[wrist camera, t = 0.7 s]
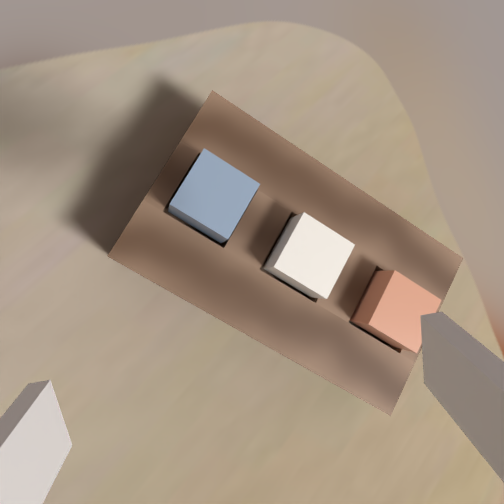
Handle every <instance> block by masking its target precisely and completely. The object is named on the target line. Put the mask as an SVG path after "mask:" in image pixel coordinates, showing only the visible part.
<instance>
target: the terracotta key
mask: <svg viewBox="0 0 504 504" xmlns="http://www.w3.org/2000/svg"><path fill="white" fill-rule="evenodd" d="M440 302H441V299H439V298H438V297H436V296H435V295H433V294H431V293H430V292H428V291H427V290H425V289H424V288H422V287H421V286H419V285H417V284H416V283H414V282H413V281H411V280H410V279H408V278H406V277H405V276H403V275H402V274H400V273H399V272H397V271H395V270H387V271H374V272H373V274H372V276H371V278H370V280H369V282H368V284H367V286H366V288H365V290H364V292H363V294H362V296H361V298H360V300H359V302H358V304H357V306H356V308H355V310H354V312H353V314H352V316H351V318H350V321H351V322H353V323H355V324H356V325H358V326H360V327H361V328H363V329H365V330H366V331H368V332H370V333H371V334H373V335H375V336H376V337H378V338H380V339H381V340H383V341H385V342H386V343H388V344H390V345H391V346H393V347H396V348H400V349H403V350H407V351H410V352H414V353H417V352H418V350H419V348H420V346H421V344H422V336H421V318H420V315H425V314H431V313H436V311H437V309H438V307H439V305H440Z"/></svg>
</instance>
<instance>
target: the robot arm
mask: <svg viewBox="0 0 504 504" xmlns="http://www.w3.org/2000/svg"><path fill="white" fill-rule="evenodd" d="M420 318H421V336H422V354H423V371H424V384H425V385H426V386H427V387H428V389H429V390H430V391H431V392H432V394H433V395H434V396H435V397H436V399H437V400H438V401H439V402H440V404H441V405H442V406H443V407H444V409H445V410H446V411H447V412H448V414H449V415H450V416H451V417H452V419H453V420H454V421H455V422H456V424H457V425H458V426H459V427H460V429H461V430H462V431H463V432H464V434H465V435H466V436H467V437H468V439H469V440H470V441H471V442H472V444H473V445H474V446H475V447H476V449H477V450H478V451H479V452H480V454H481V455H482V456H483V457H484V459H485V460H486V461H487V462H488V464H489V465H490V466H491V467H492V469H493V470H494V471H495V472H496V474H497V475H498V476H499V477H500V478H501V480H502V481H503V482H504V362H503V361H502V360H501V359H500V358H498V357H497V356H496V355H495V354H493V353H492V352H491V351H490V350H488V349H487V348H486V347H485V346H484V345H482V344H481V343H480V342H479V341H477V340H476V339H475V338H474V337H472V336H471V335H470V334H469V333H467V332H466V331H465V330H464V329H463V328H461V327H460V326H459V325H458V324H456V323H455V322H454V321H453V320H451V319H450V318H449V317H448V316H447V315H445V314H444V313H443V312H437V313H431V314H425V315H420ZM71 447H72V443H71V440H70V437H69V434H68V431H67V428H66V425H65V422H64V419H63V416H62V413H61V410H60V407H59V404H58V401H57V398H56V395H55V392H54V390H53V387H52V384H51V381H50V380H47V381H41V382H35V383H30V384H28V385H27V386H26V387H25V389H24V390H23V391H22V392H21V393H20V395H19V396H18V397H17V398H16V400H15V401H14V402H13V403H12V405H11V406H10V407H9V408H8V409H7V411H6V412H5V413H4V414H3V416H2V417H1V418H0V504H43V502H44V500H45V498H46V496H47V494H48V492H49V490H50V488H51V486H52V484H53V482H54V480H55V478H56V476H57V474H58V472H59V470H60V468H61V466H62V464H63V462H64V460H65V458H66V457H67V455H68V453H69V451H70V449H71Z"/></svg>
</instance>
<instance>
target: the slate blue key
mask: <svg viewBox="0 0 504 504" xmlns="http://www.w3.org/2000/svg"><path fill="white" fill-rule="evenodd" d="M259 185H260V184H259V183H258V182H256V181H255V180H253V179H252V178H250V177H248V176H247V175H245V174H244V173H242V172H241V171H239V170H238V169H236V168H234V167H233V166H231V165H230V164H228V163H227V162H225V161H223V160H222V159H220V158H219V157H217V156H216V155H214V154H213V153H211V152H209V151H208V150H206V149H205V148H204V149H203V151H202V153H201V154H200V156H199V157H198V159H197V161H196V162H195V164H194V165H193V167H192V169H191V170H190V172H189V174H188V175H187V177H186V178H185V180H184V182H183V183H182V185H181V186H180V188H179V190H178V191H177V193H176V195H175V196H174V198H173V199H172V201H171V203H170V204H169V209H168V212H170V213H171V214H173V215H175V216H176V217H178V218H180V219H181V220H183V221H185V222H186V223H188V224H190V225H191V226H193V227H195V228H196V229H198V230H200V231H201V232H203V233H205V234H206V235H208V236H210V237H211V238H213V239H215V240H216V241H218V242H220V243H223V242H224V241H226V240H228V239H229V237H230V235H231V234H232V232H233V230H234V229H235V227H236V225H237V223H238V222H239V220H240V218H241V216H242V215H243V213H244V211H245V210H246V208H247V206H248V204H249V203H250V201H251V199H252V198H253V196H254V194H255V192H256V191H257V189H258V187H259Z"/></svg>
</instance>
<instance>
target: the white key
mask: <svg viewBox="0 0 504 504" xmlns="http://www.w3.org/2000/svg"><path fill="white" fill-rule="evenodd" d="M354 246H355V244H353V243H352V242H350V241H349V240H347V239H345V238H344V237H342V236H341V235H339V234H338V233H336V232H334V231H333V230H331V229H330V228H328V227H327V226H325V225H324V224H322V223H320V222H319V221H317V220H316V219H314V218H313V217H311V216H309V215H308V214H306V213H305V212H303V213H301V214H299V215H296V216H294V217H292V218H290V219H289V221H288V223H287V225H286V227H285V228H284V230H283V232H282V234H281V236H280V237H279V239H278V241H277V243H276V245H275V246H274V248H273V250H272V252H271V254H270V255H269V257H268V259H267V261H266V263H265V264H264V266H263V269H265V270H266V271H268V272H270V273H271V274H273V275H275V276H276V277H278V278H280V279H281V280H283V281H285V282H286V283H288V284H290V285H291V286H293V287H295V288H296V289H298V290H300V291H301V292H303V293H305V294H306V295H308V296H310V297H313V298H322V299H327V298H328V296H329V294H330V292H331V290H332V288H333V287H334V285H335V283H336V281H337V279H338V277H339V275H340V273H341V271H342V269H343V267H344V265H345V263H346V261H347V259H348V257H349V256H350V254H351V252H352V250H353V248H354Z"/></svg>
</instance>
